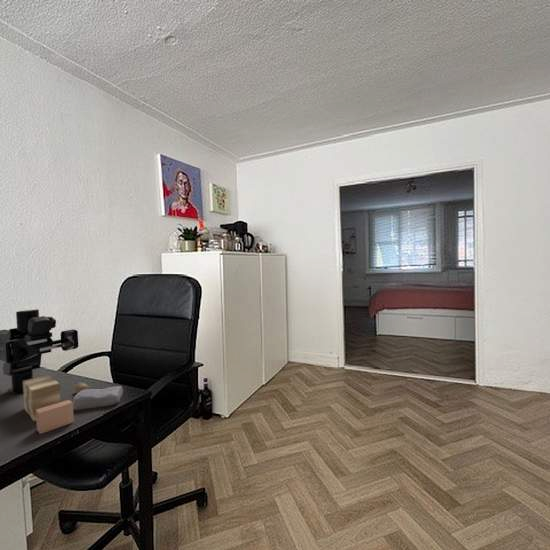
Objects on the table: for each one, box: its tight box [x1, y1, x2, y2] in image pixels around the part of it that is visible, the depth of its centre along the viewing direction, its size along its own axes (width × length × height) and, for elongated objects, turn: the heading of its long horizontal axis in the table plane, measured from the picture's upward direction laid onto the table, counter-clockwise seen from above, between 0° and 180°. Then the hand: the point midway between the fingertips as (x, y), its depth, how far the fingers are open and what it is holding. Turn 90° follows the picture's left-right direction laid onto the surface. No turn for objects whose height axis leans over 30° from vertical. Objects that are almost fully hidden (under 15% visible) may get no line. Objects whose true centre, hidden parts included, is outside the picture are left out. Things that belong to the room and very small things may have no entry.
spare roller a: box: [74, 382, 92, 393], centre depth 97 cm, size 5×3×3 cm, turn 49°
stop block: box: [35, 399, 75, 435], centre depth 76 cm, size 3×7×5 cm, turn 139°
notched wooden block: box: [22, 374, 62, 422], centre depth 85 cm, size 12×6×8 cm, turn 49°
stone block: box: [72, 385, 124, 411], centre depth 90 cm, size 12×5×10 cm
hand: (56, 347), depth 89 cm, fingers open, 9 cm apart
